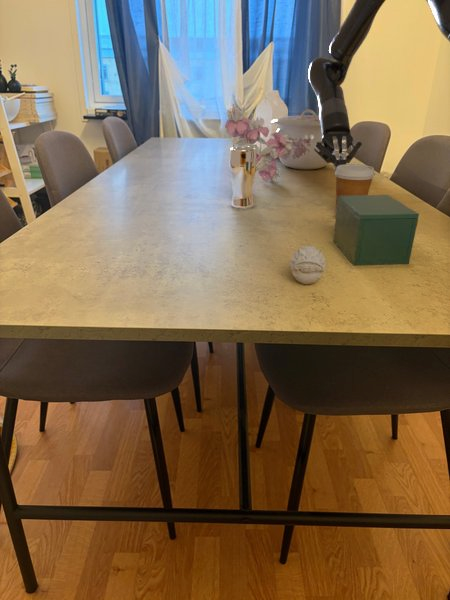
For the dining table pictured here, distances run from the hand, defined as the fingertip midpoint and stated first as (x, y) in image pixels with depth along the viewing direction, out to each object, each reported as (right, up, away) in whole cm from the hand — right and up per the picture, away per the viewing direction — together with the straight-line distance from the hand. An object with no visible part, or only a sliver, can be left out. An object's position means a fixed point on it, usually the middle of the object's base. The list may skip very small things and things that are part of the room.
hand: (341, 174), depth 113 cm
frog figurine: (-17, -30, -40) cm, 53 cm away
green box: (-2, -23, -26) cm, 35 cm away
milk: (-9, +39, +94) cm, 102 cm away
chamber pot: (+1, +20, +57) cm, 60 cm away
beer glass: (-26, -7, +5) cm, 27 cm away
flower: (-20, +6, +31) cm, 37 cm away
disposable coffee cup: (+1, -12, -4) cm, 12 cm away
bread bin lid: (-2, -15, -30) cm, 34 cm away
